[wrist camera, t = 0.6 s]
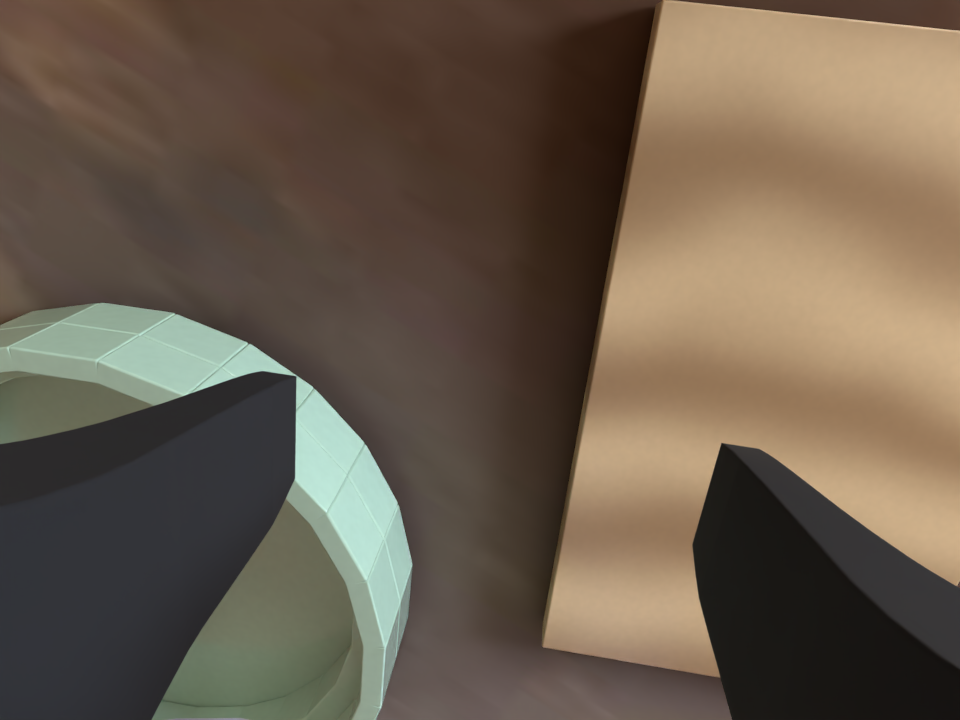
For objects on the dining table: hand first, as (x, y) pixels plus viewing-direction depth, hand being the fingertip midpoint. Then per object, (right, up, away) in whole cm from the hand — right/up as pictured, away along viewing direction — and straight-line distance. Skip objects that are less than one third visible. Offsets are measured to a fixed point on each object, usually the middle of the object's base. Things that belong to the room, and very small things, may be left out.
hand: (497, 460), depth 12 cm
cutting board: (+9, +1, +9) cm, 13 cm away
